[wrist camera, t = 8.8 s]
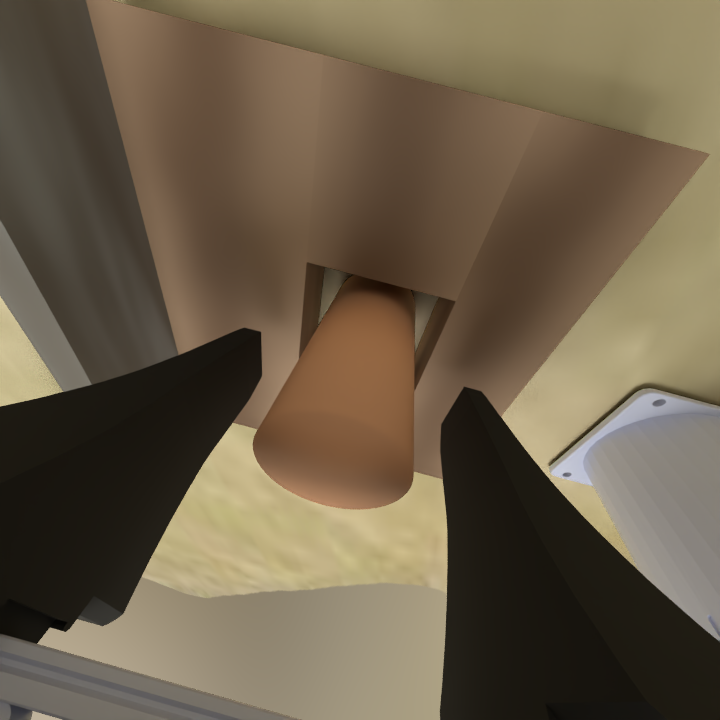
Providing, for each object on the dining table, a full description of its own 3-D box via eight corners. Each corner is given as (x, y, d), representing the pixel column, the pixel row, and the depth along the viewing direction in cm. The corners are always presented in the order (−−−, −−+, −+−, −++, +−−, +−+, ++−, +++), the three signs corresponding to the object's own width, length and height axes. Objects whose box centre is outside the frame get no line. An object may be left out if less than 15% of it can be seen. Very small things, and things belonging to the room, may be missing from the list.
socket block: (632, 155, 9) (976, 150, 4) (445, 440, 19) (457, 558, 13) (127, 25, 9) (-312, -177, 4) (200, 374, 19) (111, 464, 13)
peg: (428, 285, 13) (444, 447, 6) (397, 351, 15) (381, 523, 8) (347, 257, 13) (256, 387, 5) (329, 328, 15) (250, 482, 8)
